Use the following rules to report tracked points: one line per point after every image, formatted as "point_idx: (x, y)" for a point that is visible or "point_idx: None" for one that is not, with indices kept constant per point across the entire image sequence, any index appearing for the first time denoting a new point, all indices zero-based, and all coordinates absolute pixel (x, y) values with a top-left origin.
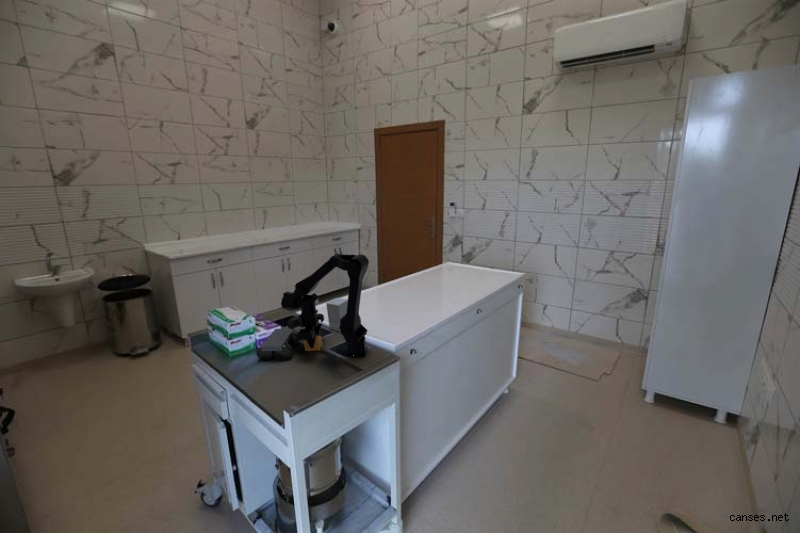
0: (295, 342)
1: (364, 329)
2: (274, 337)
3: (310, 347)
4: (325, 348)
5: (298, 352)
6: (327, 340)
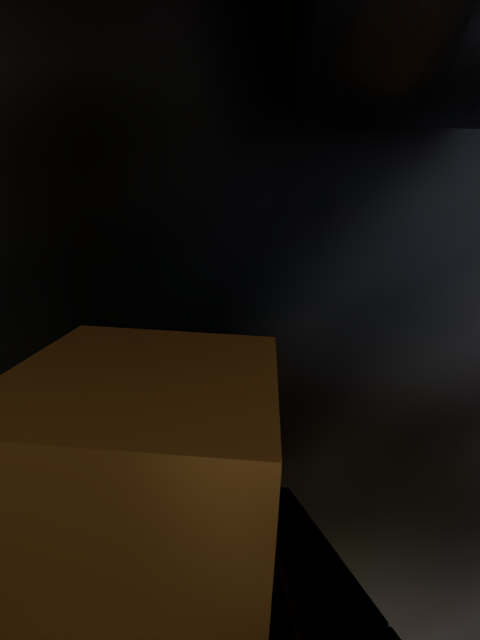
0: (303, 9)
1: None
2: None
3: None
4: None
5: (21, 201)
6: (440, 632)
